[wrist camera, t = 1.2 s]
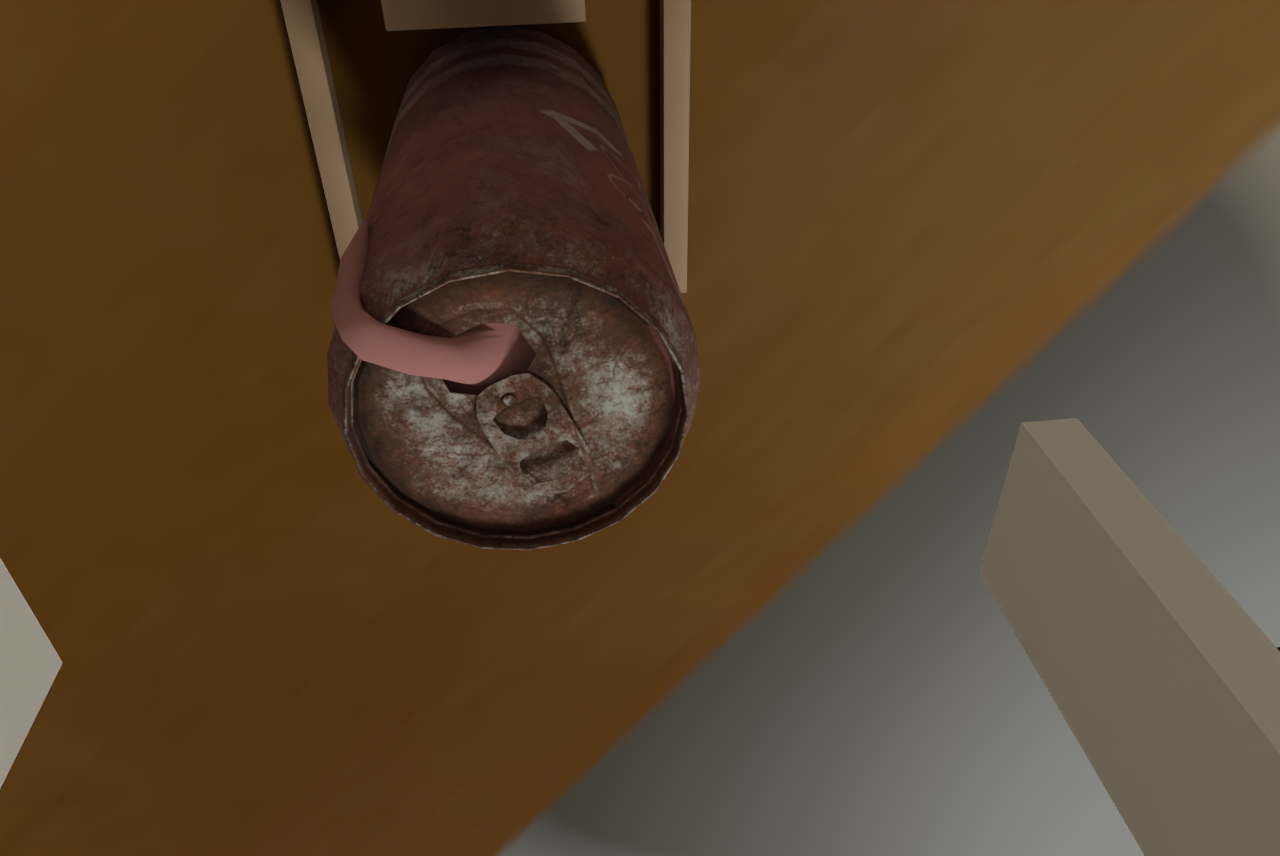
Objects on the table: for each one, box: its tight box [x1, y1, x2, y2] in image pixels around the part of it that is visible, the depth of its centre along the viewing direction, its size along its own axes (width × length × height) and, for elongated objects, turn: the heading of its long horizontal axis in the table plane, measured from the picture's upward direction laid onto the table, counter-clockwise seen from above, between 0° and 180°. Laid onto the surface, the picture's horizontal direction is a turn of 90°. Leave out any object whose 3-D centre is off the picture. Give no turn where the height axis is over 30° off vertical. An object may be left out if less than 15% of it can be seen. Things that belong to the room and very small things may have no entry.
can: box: [328, 26, 701, 550], centre depth 20 cm, size 6×6×14 cm
